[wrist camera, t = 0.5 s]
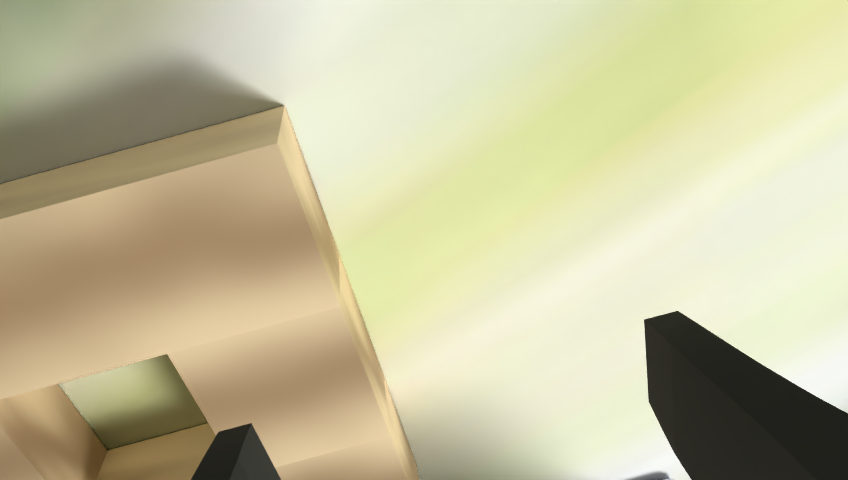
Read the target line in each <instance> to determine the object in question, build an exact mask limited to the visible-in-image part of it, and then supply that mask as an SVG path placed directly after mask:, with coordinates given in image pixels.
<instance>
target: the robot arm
mask: <svg viewBox="0 0 848 480" xmlns="http://www.w3.org/2000/svg"><path fill="white" fill-rule="evenodd" d="M644 324H645V342H646V360H647V378H648V396H649V403H650V405H651V407H652V409H653V411H654V413H655V415H656V417H657V419H658V421H659V423H660V426H661V428H662V430H663V432H664V434H665V436H666V437H667V439H668V441H669V443H670V445H671V447H672V449H673V451H674V453H675V455H676V456H677V458H678V459H679V461H680V462H681V464H682V466H683V467H684V469H685V470H686V472H687V473H688V475H689V476H690V478H691V479H692V480H848V413H846V412H844V411H842V410H840V409H838V408H836V407H835V406H833V405H831V404H829V403H827V402H825V401H823V400H822V399H820V398H818V397H816V396H814V395H813V394H811V393H809V392H807V391H806V390H804V389H802V388H800V387H799V386H797V385H795V384H794V383H792V382H790V381H789V380H787V379H785V378H784V377H782V376H780V375H778V374H777V373H775V372H773V371H772V370H770V369H768V368H767V367H765V366H763V365H762V364H760V363H759V362H757V361H755V360H754V359H752V358H750V357H749V356H747V355H746V354H744V353H743V352H741V351H739V350H738V349H736V348H735V347H733V346H732V345H730V344H728V343H727V342H725V341H724V340H722V339H721V338H719V337H718V336H716V335H714V334H713V333H711V332H710V331H708V330H707V329H705V328H704V327H702V326H701V325H699V324H698V323H696V322H694V321H693V320H691V319H690V318H688V317H687V316H685V315H683V314H682V313H680V312H679V311H675V312H672V313H668V314H664V315H660V316H656V317H653V318H649V319H645V320H644ZM191 480H281V478H280V476H279V475H278V473H277V471H276V469H275V467H274V465H273V463H272V461H271V459H270V457H269V456H268V454H267V452H266V450H265V448H264V446H263V444H262V442H261V440H260V438H259V436H258V435H257V433H256V431H255V429H254V427H253V425H252V423H250V424H246V425H242V426H238V427H234V428H231V429H227V430H223V431H219V432H218V433H217V435H216V437H215V438H214V440H213V442H212V443H211V445H210V447H209V448H208V450H207V452H206V453H205V455H204V457H203V459H202V460H201V462H200V464H199V466H198V468H197V469H196V471H195V473H194V475H193V476H192V478H191ZM664 480H674V479H664Z"/></svg>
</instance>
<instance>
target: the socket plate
mask: <svg viewBox="0 0 848 480" xmlns="http://www.w3.org/2000/svg"><path fill="white" fill-rule="evenodd" d="M165 354H167V355H168V356H169V358H170V360H171V361H172V363H173V365H174V366H175V368H176V370H177V371H178V373H179V375H180V376H181V378H182V380H183V381H184V383H185V385H186V386H187V388H188V390H189V391H190V393H191V395H192V396H193V398H194V400H195V401H196V403H197V405H198V407H199V408H200V410H201V412H202V413H203V415H204V417H205V418H206V420H207V422H208V423H207V424H203V425H199V426H196V427H192V428H188V429H185V430H181V431H177V432H174V433H170V434H166V435H163V436H159V437H155V438H152V439H148V440H144V441H141V442H137V443H133V444H130V445H126V446H122V447H119V448H115V449H111V450H108V451H107V449H106V448H105V447H104V445H103V444H102V442H101V441H100V440H99V438H98V437H97V436H96V434H95V433H94V432H93V430H92V429H91V428H90V426H89V425H88V424H87V422H86V421H85V420H84V418H83V417H82V416H81V414H80V413H79V412H78V410H77V409H76V408H75V406H74V405H73V404H72V402H71V401H70V400H69V398H68V397H67V396H66V394H65V393H64V392H63V390H62V389H61V387H60V386H59V385H58V384H59V383H63V382H66V381H70V380H74V379H77V378H81V377H85V376H88V375H92V374H96V373H99V372H103V371H107V370H110V369H114V368H118V367H121V366H125V365H129V364H132V363H136V362H140V361H143V360H147V359H151V358H154V357H158V356H161V355H165ZM250 423H252V425H253V427H254V429H255V431H256V433H257V435H258V436H259V438H260V440H261V442H262V444H263V446H264V448H265V450H266V452H267V454H268V456H269V457H270V459H271V461H272V463H273V465H274V467H275V469H276V471H277V473H278V475H279V476H280V478H281V480H419V479H418V472H417V465H416V462H415V459H414V457H413V454H412V451H411V448H410V446H409V443H408V440H407V437H406V435H405V432H404V429H403V427H402V424H401V421H400V418H399V416H398V413H397V410H396V407H395V405H394V402H393V399H392V397H391V394H390V391H389V388H388V386H387V383H386V380H385V378H384V375H383V372H382V369H381V367H380V364H379V361H378V358H377V356H376V353H375V350H374V348H373V345H372V342H371V339H370V337H369V334H368V331H367V328H366V326H365V323H364V320H363V318H362V315H361V312H360V309H359V307H358V304H357V301H356V298H355V296H354V293H353V290H352V288H351V285H350V282H349V279H348V277H347V274H346V271H345V268H344V266H343V263H342V260H341V258H340V255H339V252H338V249H337V247H336V244H335V241H334V239H333V236H332V233H331V230H330V228H329V225H328V222H327V219H326V217H325V214H324V211H323V209H322V206H321V203H320V200H319V198H318V195H317V192H316V189H315V187H314V184H313V181H312V179H311V176H310V173H309V170H308V168H307V165H306V162H305V159H304V157H303V154H302V151H301V149H300V146H299V143H298V140H297V138H296V135H295V132H294V129H293V127H292V124H291V121H290V119H289V116H288V113H287V110H286V108H285V106H281V107H278V108H274V109H270V110H267V111H263V112H260V113H256V114H252V115H249V116H245V117H241V118H238V119H234V120H231V121H227V122H223V123H220V124H216V125H212V126H209V127H205V128H202V129H198V130H194V131H191V132H187V133H183V134H180V135H176V136H173V137H169V138H165V139H162V140H158V141H154V142H151V143H147V144H144V145H140V146H136V147H133V148H129V149H125V150H122V151H118V152H115V153H111V154H107V155H104V156H100V157H96V158H93V159H89V160H86V161H82V162H78V163H75V164H71V165H67V166H64V167H60V168H57V169H53V170H49V171H46V172H42V173H38V174H35V175H31V176H28V177H24V178H20V179H17V180H13V181H9V182H6V183H2V184H0V480H191V478H192V476H193V475H194V473H195V471H196V469H197V468H198V466H199V464H200V462H201V460H202V459H203V457H204V455H205V453H206V452H207V450H208V448H209V447H210V445H211V443H212V442H213V440H214V438H215V437H216V435H217V433H218V432H219V431H223V430H227V429H231V428H234V427H238V426H242V425H246V424H250Z"/></svg>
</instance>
